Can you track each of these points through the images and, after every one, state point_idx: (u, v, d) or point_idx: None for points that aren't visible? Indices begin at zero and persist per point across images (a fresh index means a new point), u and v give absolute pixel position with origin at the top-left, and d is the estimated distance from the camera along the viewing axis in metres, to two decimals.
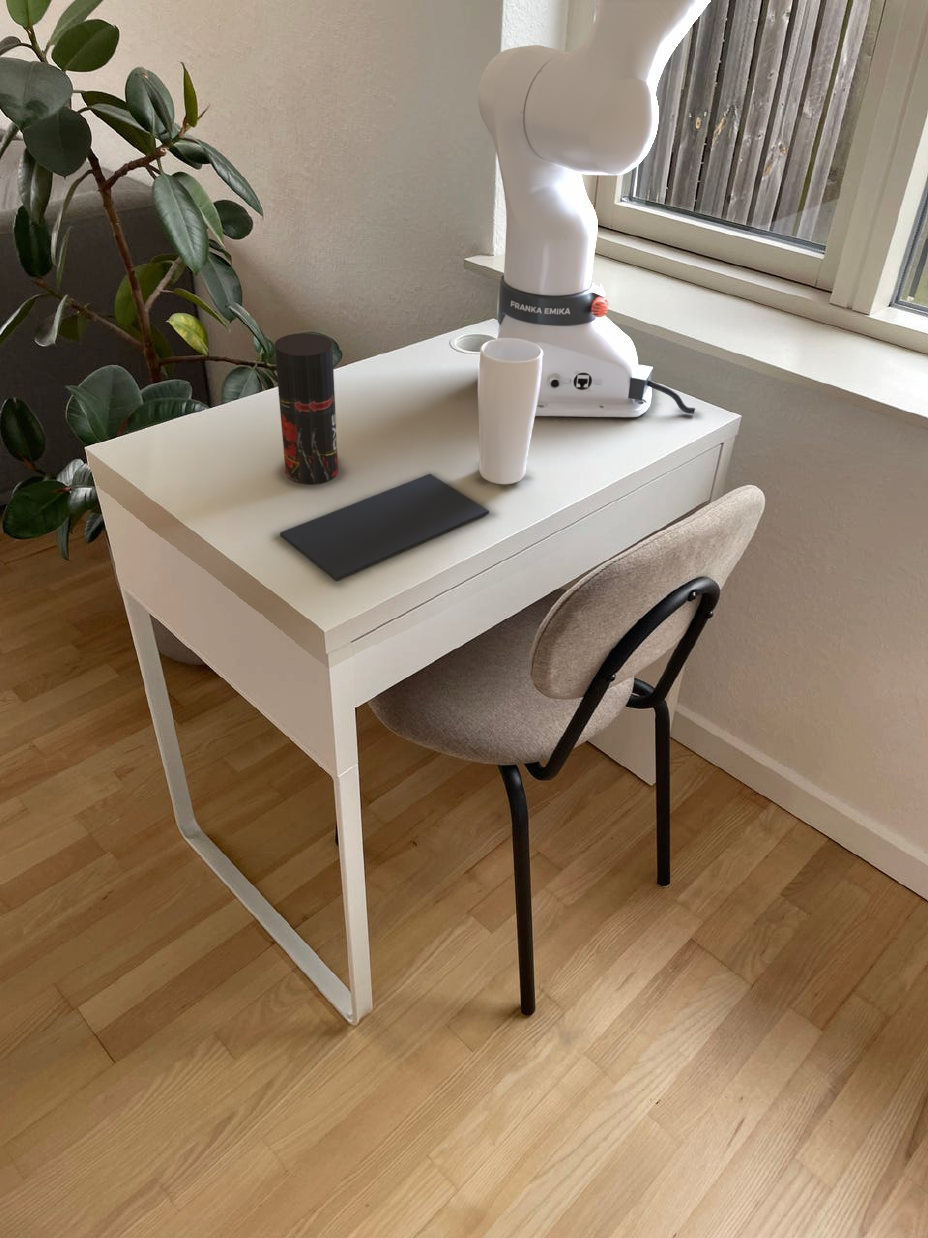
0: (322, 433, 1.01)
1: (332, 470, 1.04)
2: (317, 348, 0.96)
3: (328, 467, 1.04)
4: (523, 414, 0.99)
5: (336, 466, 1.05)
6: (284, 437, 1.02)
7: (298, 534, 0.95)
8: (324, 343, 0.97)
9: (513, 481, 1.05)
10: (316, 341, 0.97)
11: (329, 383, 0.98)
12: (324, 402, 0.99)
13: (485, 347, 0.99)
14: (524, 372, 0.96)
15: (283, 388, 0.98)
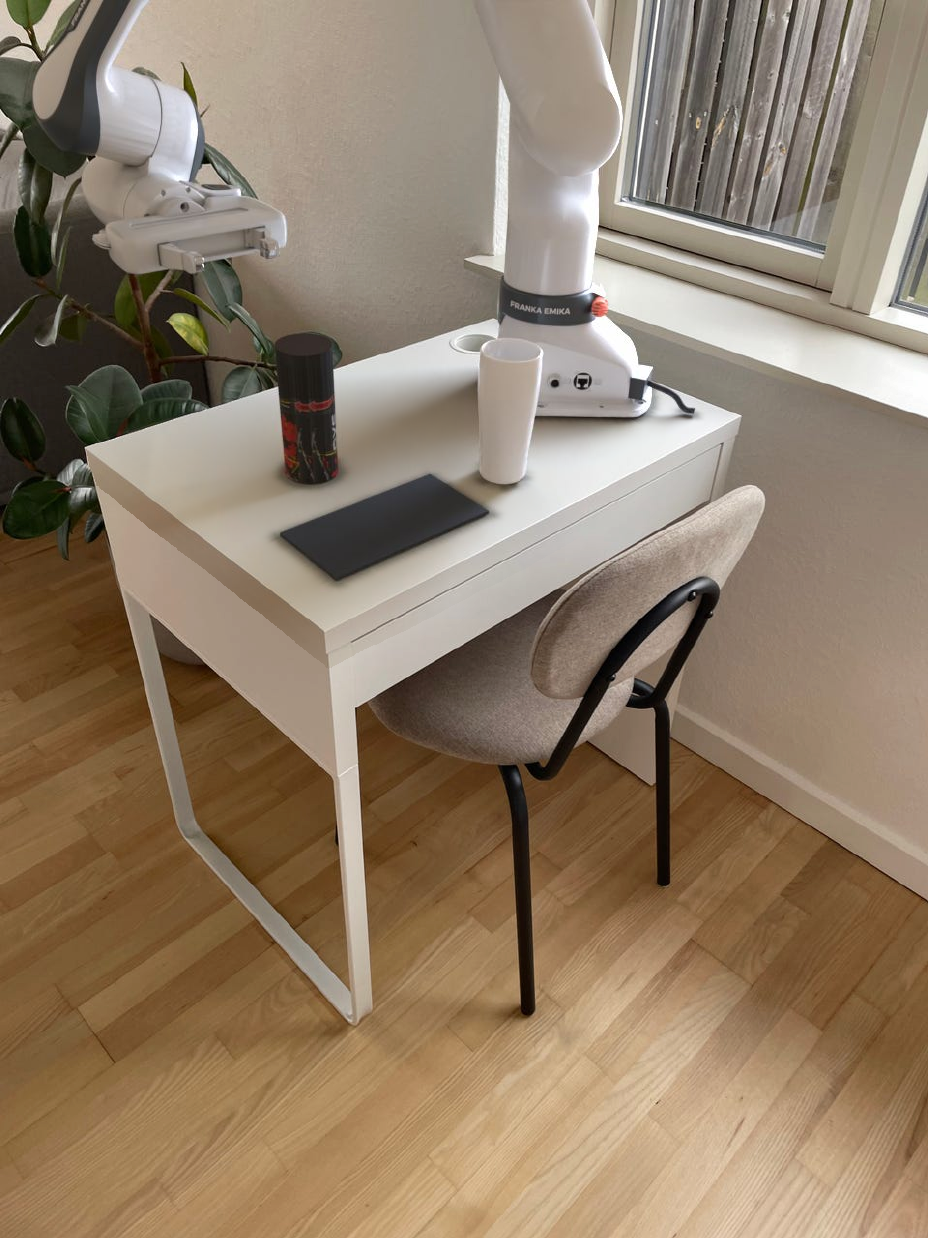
0: (322, 433, 1.01)
1: (332, 470, 1.04)
2: (317, 348, 0.96)
3: (328, 467, 1.04)
4: (523, 414, 0.99)
5: (336, 466, 1.05)
6: (284, 437, 1.02)
7: (298, 534, 0.95)
8: (324, 343, 0.97)
9: (513, 481, 1.05)
10: (316, 341, 0.97)
11: (329, 383, 0.98)
12: (324, 402, 0.99)
13: (485, 347, 0.99)
14: (524, 372, 0.96)
15: (283, 388, 0.98)
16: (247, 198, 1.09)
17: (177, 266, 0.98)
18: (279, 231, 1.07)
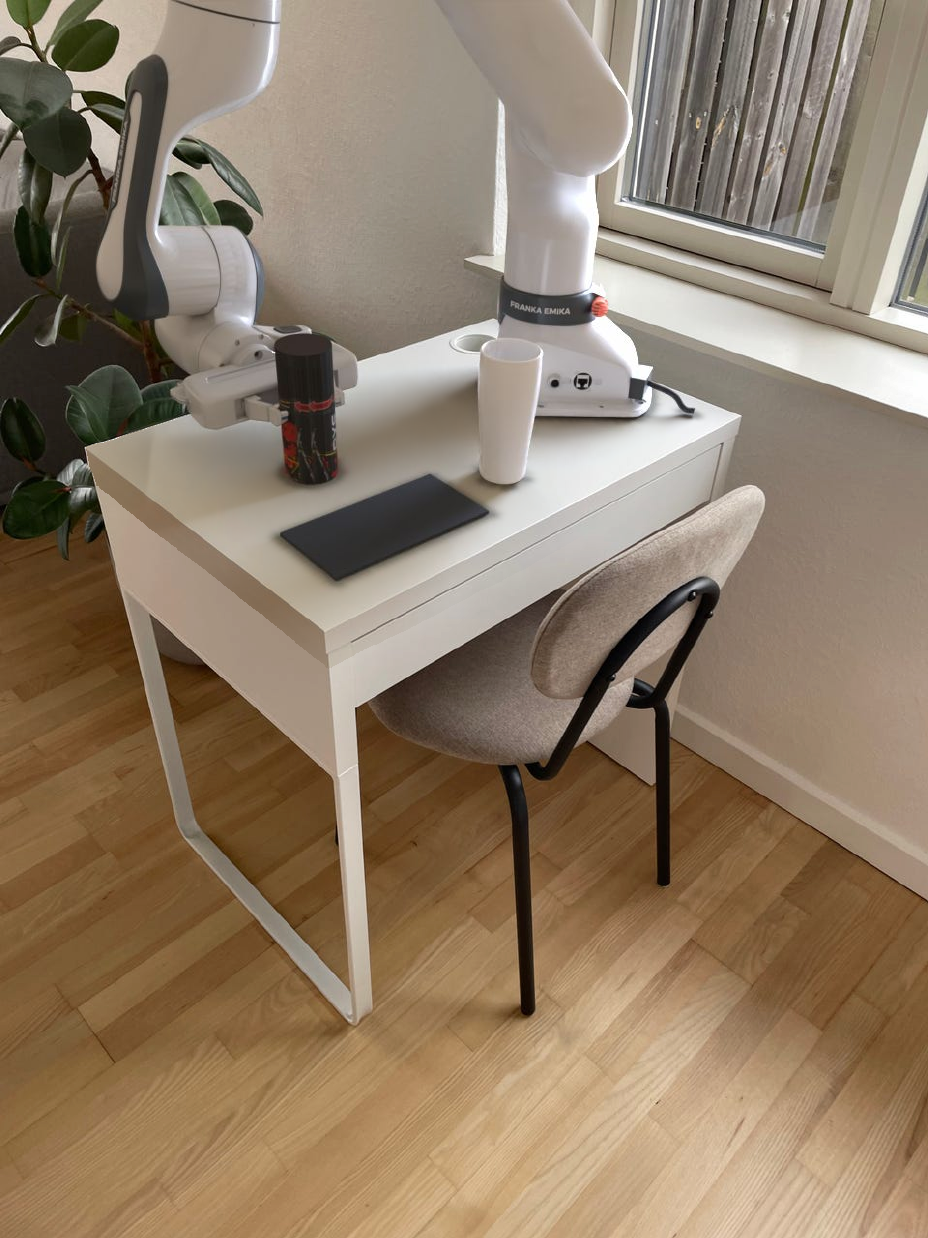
0: (322, 434, 1.01)
1: (332, 470, 1.04)
2: (317, 348, 0.96)
3: (328, 467, 1.04)
4: (523, 414, 0.99)
5: (336, 466, 1.05)
6: (284, 437, 1.02)
7: (298, 534, 0.95)
8: (324, 343, 0.97)
9: (513, 481, 1.05)
10: (316, 341, 0.97)
11: (329, 383, 0.98)
12: (323, 402, 0.99)
13: (485, 347, 0.99)
14: (524, 372, 0.96)
15: (282, 388, 0.98)
16: None
17: (263, 418, 1.00)
18: (351, 372, 1.08)
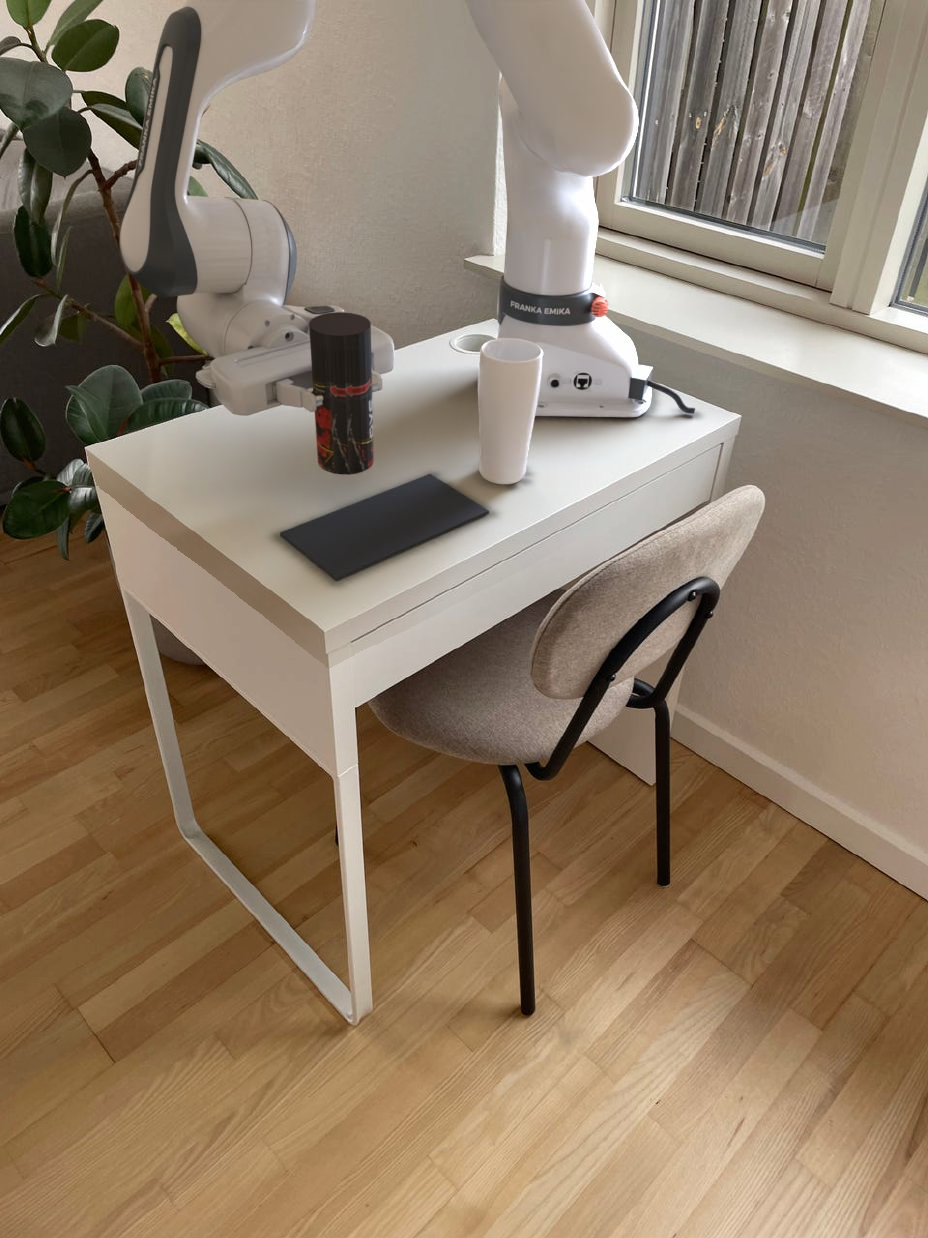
0: (359, 420, 0.94)
1: (368, 460, 0.98)
2: (355, 327, 0.89)
3: (364, 456, 0.97)
4: (523, 414, 0.99)
5: (372, 455, 0.98)
6: (317, 424, 0.95)
7: (298, 534, 0.95)
8: (362, 322, 0.90)
9: (513, 481, 1.05)
10: (353, 320, 0.91)
11: (367, 366, 0.92)
12: (361, 386, 0.92)
13: (485, 347, 0.99)
14: (524, 372, 0.96)
15: (317, 371, 0.91)
16: None
17: (296, 403, 0.93)
18: (387, 356, 1.01)
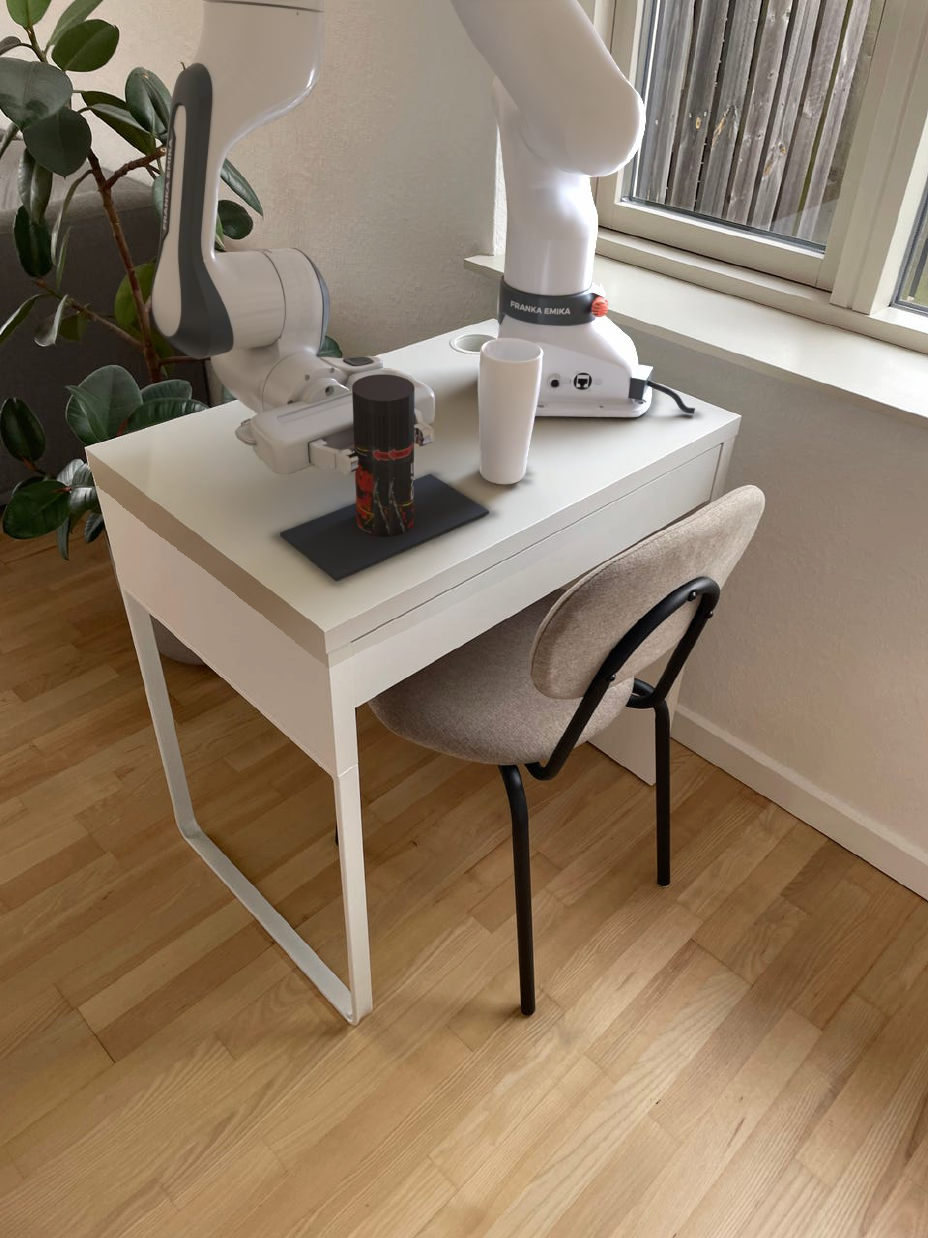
0: (401, 483, 0.92)
1: (408, 521, 0.96)
2: (399, 391, 0.88)
3: (405, 518, 0.95)
4: (523, 414, 0.99)
5: (412, 516, 0.97)
6: (358, 486, 0.93)
7: (298, 534, 0.95)
8: (406, 386, 0.89)
9: (513, 481, 1.05)
10: (397, 384, 0.89)
11: (410, 430, 0.90)
12: (404, 450, 0.90)
13: (485, 347, 0.99)
14: (524, 372, 0.96)
15: (360, 435, 0.89)
16: (391, 372, 1.01)
17: (330, 465, 0.91)
18: (428, 409, 0.99)
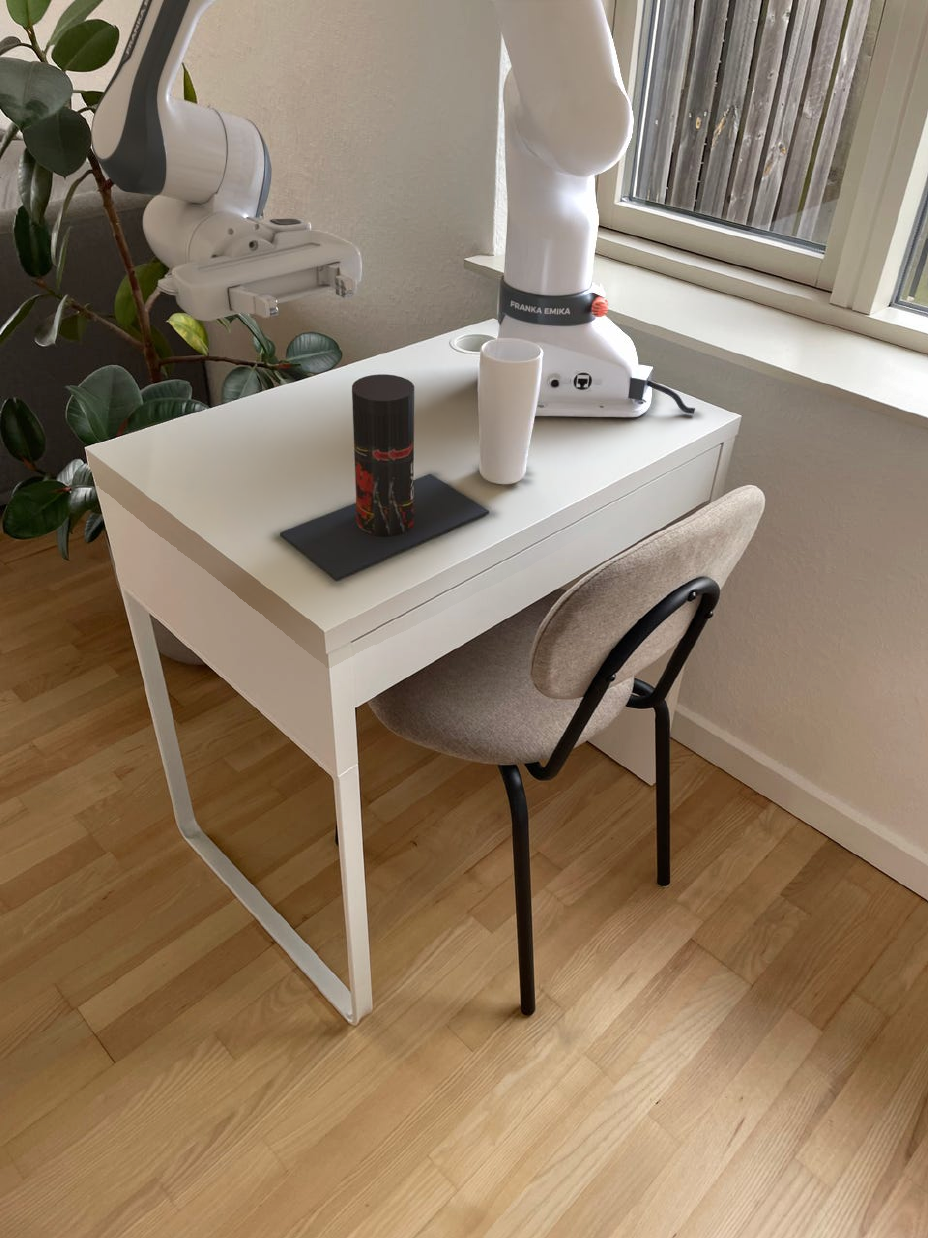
0: (401, 483, 0.92)
1: (408, 521, 0.96)
2: (399, 391, 0.88)
3: (405, 518, 0.95)
4: (523, 414, 0.99)
5: (412, 516, 0.97)
6: (358, 486, 0.93)
7: (298, 534, 0.95)
8: (406, 386, 0.89)
9: (513, 481, 1.05)
10: (396, 384, 0.89)
11: (410, 430, 0.90)
12: (404, 449, 0.90)
13: (485, 347, 0.99)
14: (524, 372, 0.96)
15: (360, 435, 0.89)
16: (318, 232, 1.01)
17: (249, 310, 0.91)
18: (354, 266, 0.99)
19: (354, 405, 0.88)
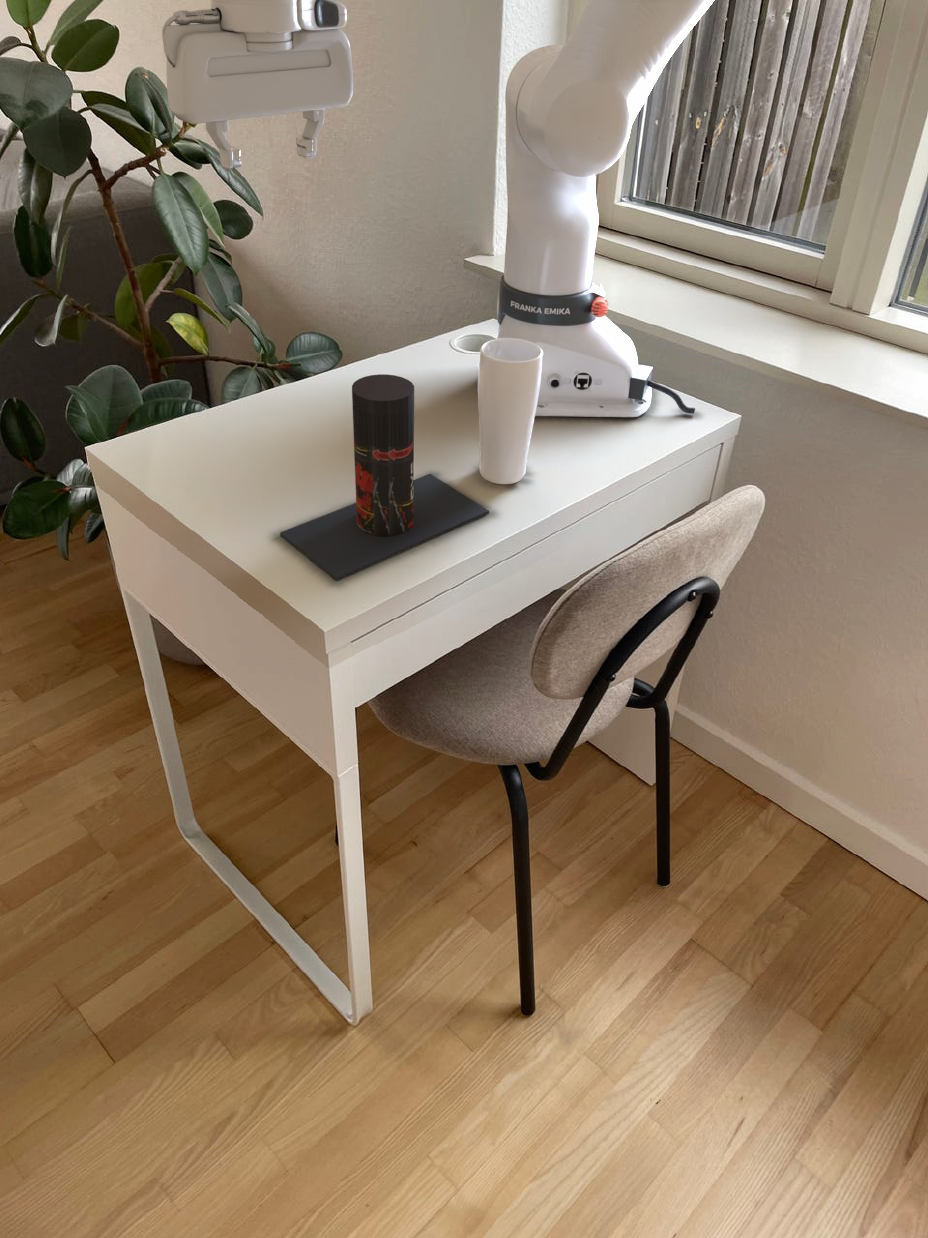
0: (401, 483, 0.92)
1: (408, 521, 0.96)
2: (399, 391, 0.88)
3: (405, 518, 0.95)
4: (523, 414, 0.99)
5: (412, 516, 0.97)
6: (358, 486, 0.93)
7: (298, 534, 0.95)
8: (406, 386, 0.89)
9: (513, 481, 1.05)
10: (396, 384, 0.89)
11: (410, 430, 0.90)
12: (404, 449, 0.90)
13: (485, 347, 0.99)
14: (524, 372, 0.96)
15: (360, 435, 0.89)
16: (342, 44, 0.96)
17: (216, 143, 0.95)
18: None
19: (354, 405, 0.88)
